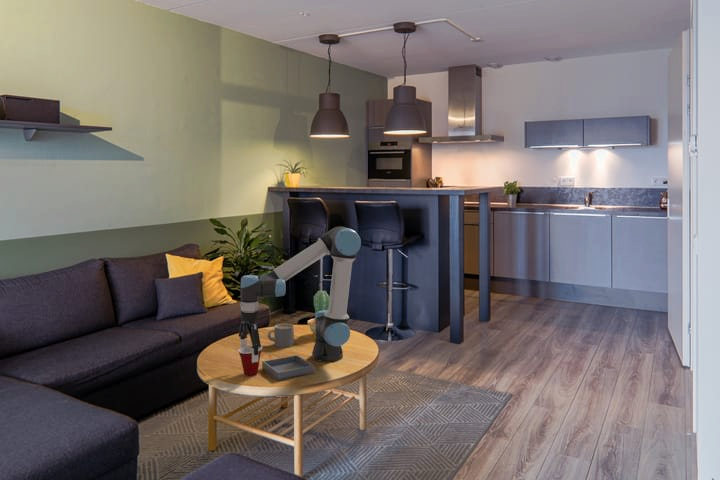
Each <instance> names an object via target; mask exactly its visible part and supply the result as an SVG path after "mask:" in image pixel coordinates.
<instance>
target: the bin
mask: <svg viewBox="0 0 720 480" xmlns="http://www.w3.org/2000/svg"><path fill="white" fill-rule="evenodd" d="M261 368H262V370H263V371H265V372H266V373H267V374H268V375H270V376H271V377H273V378H274V379H275V380H276V381H283V380H287V379H289V380H290V379H294V378H299V377H304V376H307V375H313V374H315V365H314V364H313V363H312V362H309V361H308V360H305V359H304V358H303V357H301V356H299V355H298V354H295V355H288V356H285V357H279V358H273V359H268V360H263V361H261Z"/></svg>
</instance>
